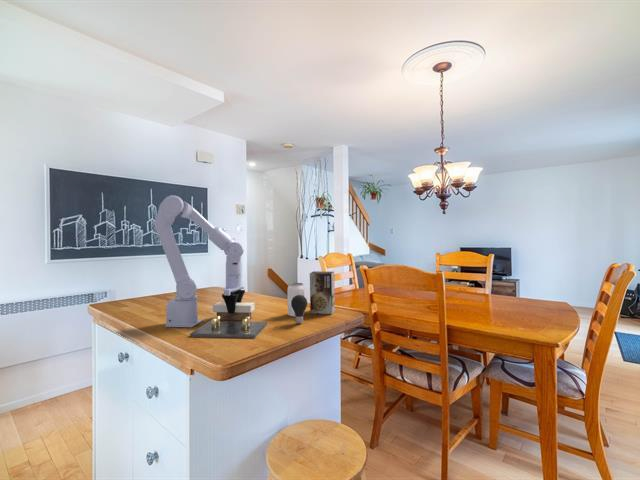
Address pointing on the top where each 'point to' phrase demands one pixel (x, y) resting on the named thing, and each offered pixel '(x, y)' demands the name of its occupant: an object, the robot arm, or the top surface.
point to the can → (292, 292)
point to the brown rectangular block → (233, 315)
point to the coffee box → (322, 292)
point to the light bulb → (299, 307)
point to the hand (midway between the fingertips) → (234, 311)
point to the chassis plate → (229, 329)
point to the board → (239, 307)
